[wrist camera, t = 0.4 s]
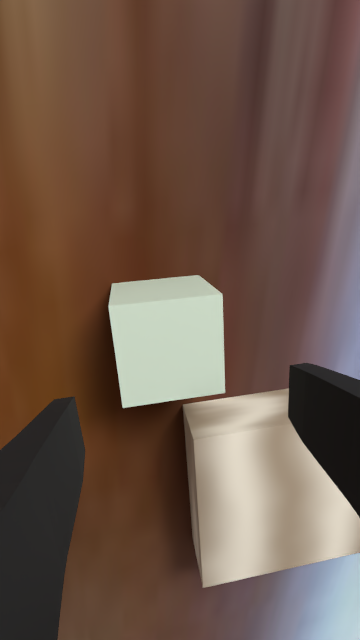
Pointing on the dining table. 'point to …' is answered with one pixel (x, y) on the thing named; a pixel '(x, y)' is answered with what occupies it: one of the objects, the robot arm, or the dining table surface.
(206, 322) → the green block
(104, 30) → the dining table surface
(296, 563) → the beige panel
